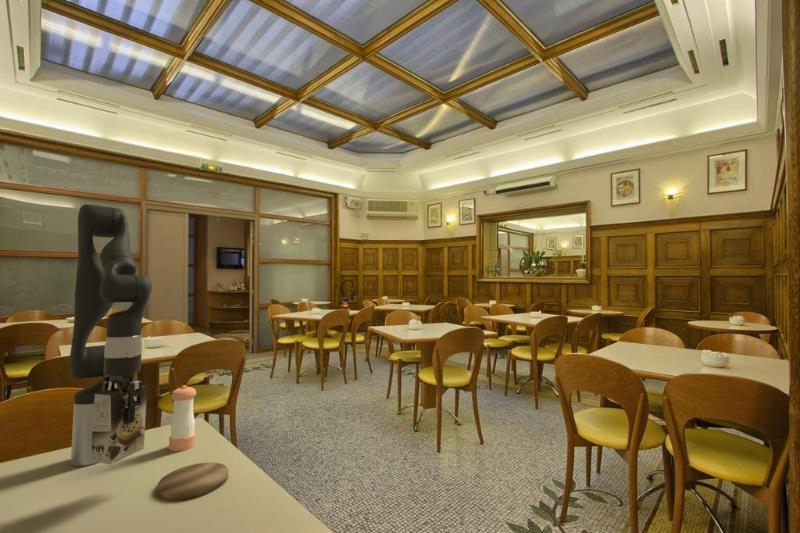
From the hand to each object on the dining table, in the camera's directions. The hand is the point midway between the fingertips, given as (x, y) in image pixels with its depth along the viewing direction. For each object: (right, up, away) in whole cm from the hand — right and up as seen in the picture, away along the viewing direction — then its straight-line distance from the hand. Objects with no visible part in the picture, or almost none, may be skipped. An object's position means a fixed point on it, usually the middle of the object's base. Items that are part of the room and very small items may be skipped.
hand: (120, 420), depth 92 cm
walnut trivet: (+16, -18, +4) cm, 24 cm away
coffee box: (0, -9, 0) cm, 9 cm away
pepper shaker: (0, -20, +26) cm, 32 cm away
